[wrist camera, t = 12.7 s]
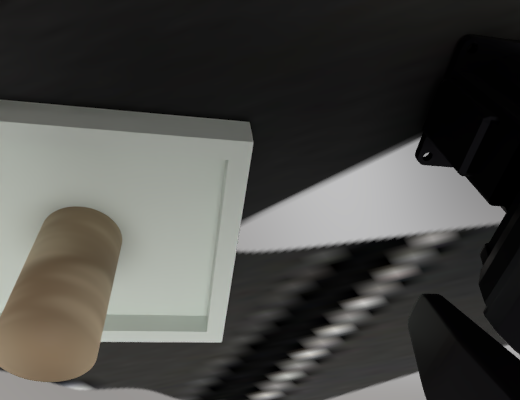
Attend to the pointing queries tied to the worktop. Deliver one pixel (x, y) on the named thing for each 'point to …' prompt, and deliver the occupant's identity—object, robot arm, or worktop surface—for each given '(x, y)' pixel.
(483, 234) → the worktop surface
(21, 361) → the dowel
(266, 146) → the worktop surface
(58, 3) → the worktop surface
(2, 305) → the tray
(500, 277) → the robot arm
